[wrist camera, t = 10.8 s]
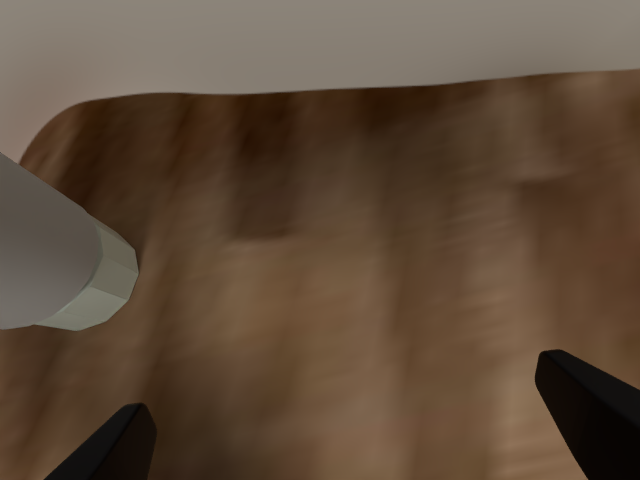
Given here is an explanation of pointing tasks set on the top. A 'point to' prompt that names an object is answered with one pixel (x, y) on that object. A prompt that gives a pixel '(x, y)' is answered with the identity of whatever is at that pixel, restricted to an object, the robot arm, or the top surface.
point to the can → (40, 247)
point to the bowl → (101, 284)
